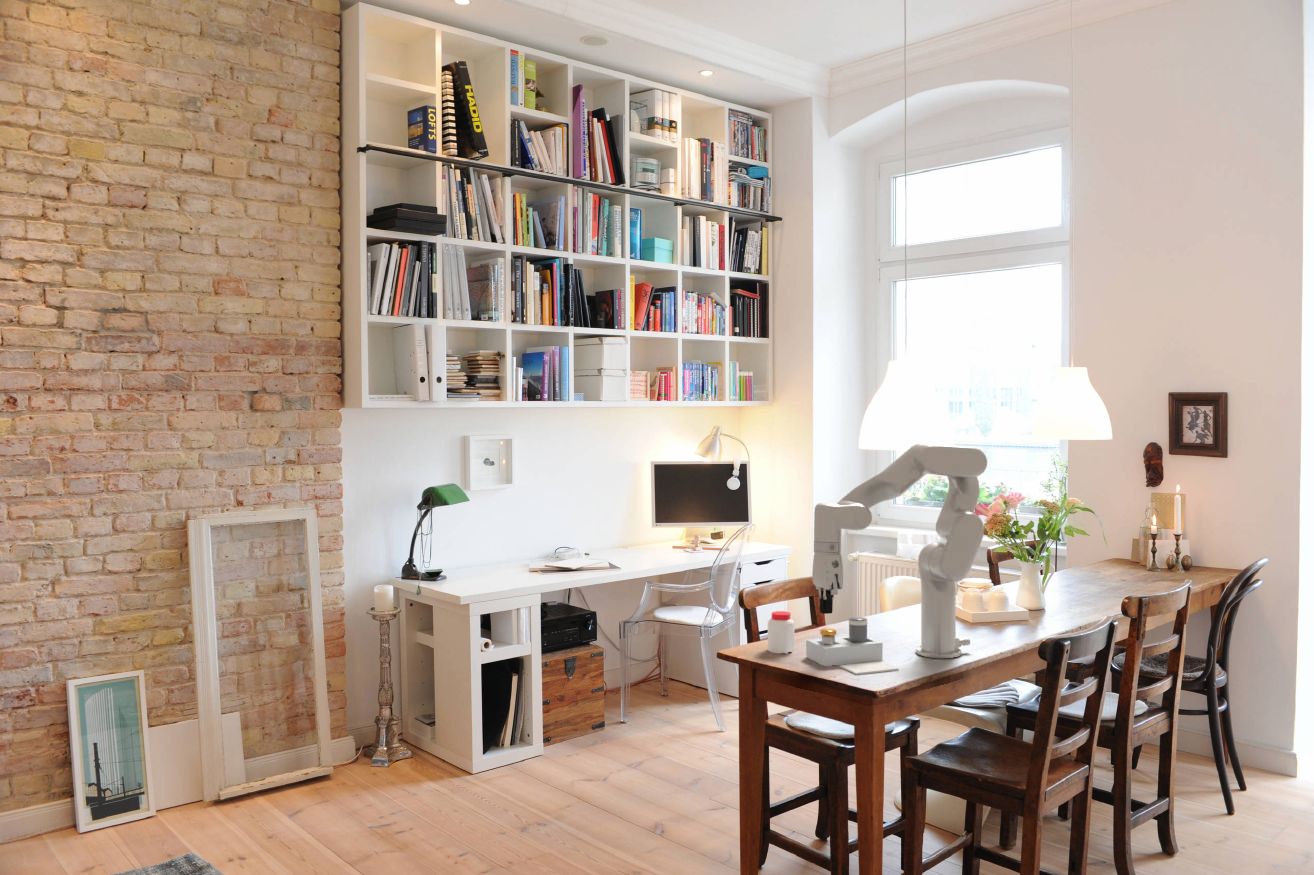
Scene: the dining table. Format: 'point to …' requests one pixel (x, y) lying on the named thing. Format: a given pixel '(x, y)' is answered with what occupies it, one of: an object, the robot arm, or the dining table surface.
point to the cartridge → (857, 630)
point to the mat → (869, 667)
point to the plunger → (828, 636)
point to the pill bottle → (781, 633)
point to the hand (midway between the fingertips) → (825, 612)
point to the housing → (844, 651)
